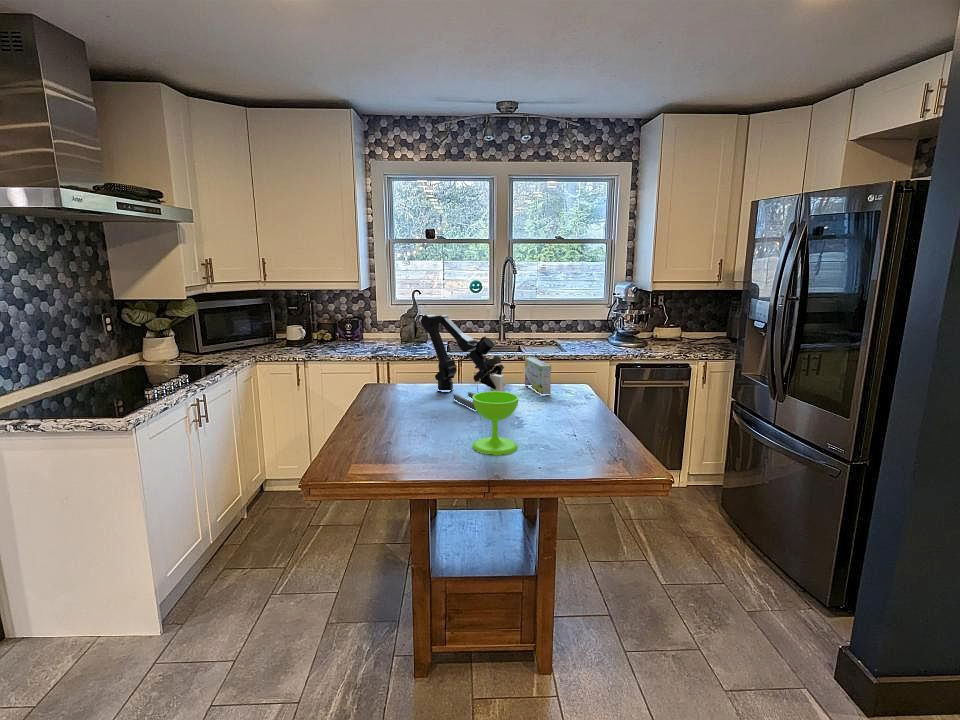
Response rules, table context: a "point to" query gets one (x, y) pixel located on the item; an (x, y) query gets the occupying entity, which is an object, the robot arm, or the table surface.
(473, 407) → the bottom track
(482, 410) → the wineglass
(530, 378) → the snack box
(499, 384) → the cream rectangular block
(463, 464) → the table surface
